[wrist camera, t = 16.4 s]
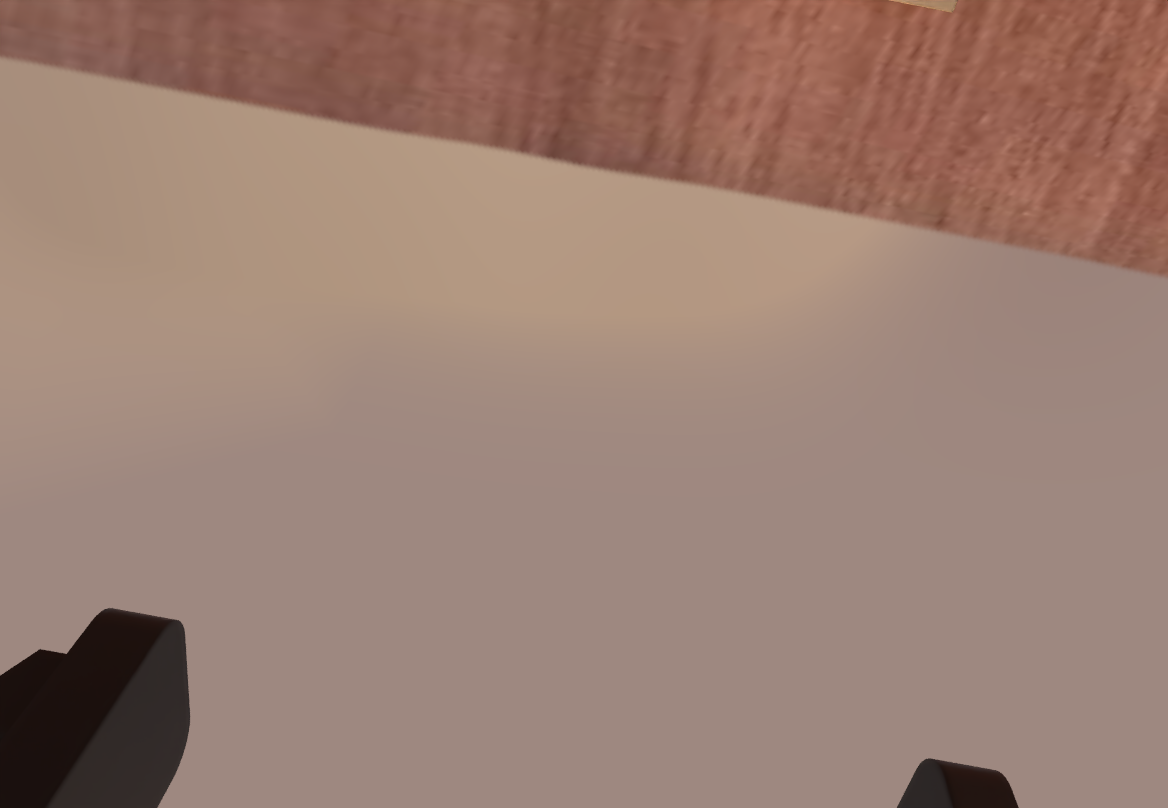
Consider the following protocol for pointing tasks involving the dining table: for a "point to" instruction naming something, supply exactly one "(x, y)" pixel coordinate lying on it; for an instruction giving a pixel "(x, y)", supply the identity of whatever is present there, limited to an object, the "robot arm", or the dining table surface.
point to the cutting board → (932, 4)
